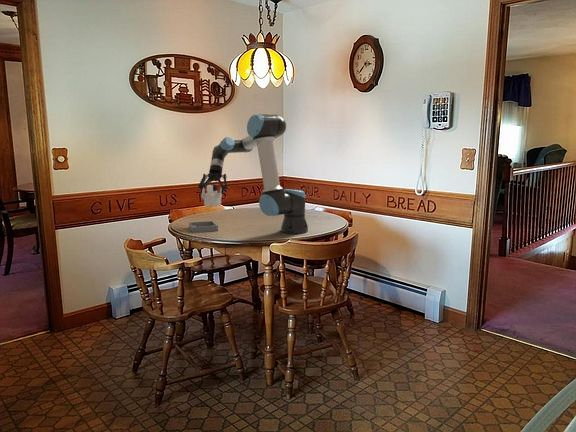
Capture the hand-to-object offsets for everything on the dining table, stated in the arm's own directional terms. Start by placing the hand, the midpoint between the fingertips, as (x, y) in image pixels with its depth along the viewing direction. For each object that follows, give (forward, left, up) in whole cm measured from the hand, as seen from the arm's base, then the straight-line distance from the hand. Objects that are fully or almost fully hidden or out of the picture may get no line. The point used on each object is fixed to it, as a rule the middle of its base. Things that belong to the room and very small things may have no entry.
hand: (211, 198), depth 260 cm
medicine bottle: (+3, -1, -5) cm, 6 cm away
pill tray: (-6, +6, -17) cm, 19 cm away
